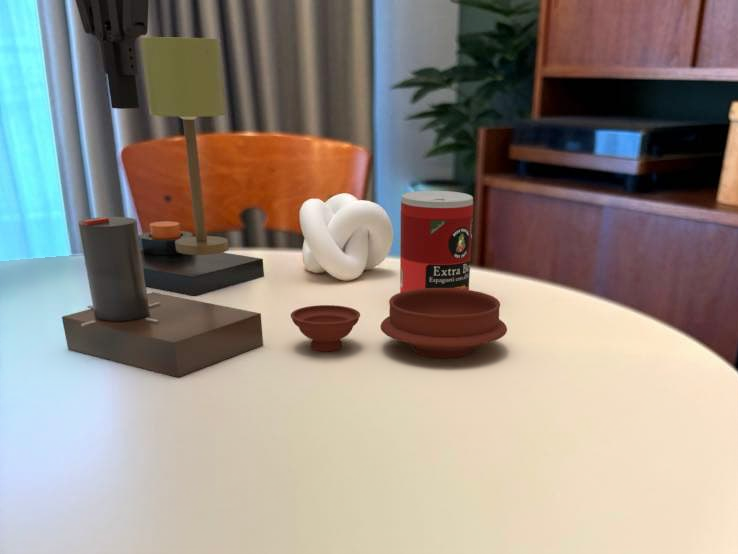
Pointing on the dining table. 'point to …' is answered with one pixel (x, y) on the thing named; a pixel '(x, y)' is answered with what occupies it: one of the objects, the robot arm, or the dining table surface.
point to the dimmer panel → (167, 335)
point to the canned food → (435, 240)
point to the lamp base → (193, 267)
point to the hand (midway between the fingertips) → (125, 107)
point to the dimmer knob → (114, 268)
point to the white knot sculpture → (344, 235)
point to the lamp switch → (165, 229)
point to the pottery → (414, 322)
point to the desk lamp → (187, 110)
